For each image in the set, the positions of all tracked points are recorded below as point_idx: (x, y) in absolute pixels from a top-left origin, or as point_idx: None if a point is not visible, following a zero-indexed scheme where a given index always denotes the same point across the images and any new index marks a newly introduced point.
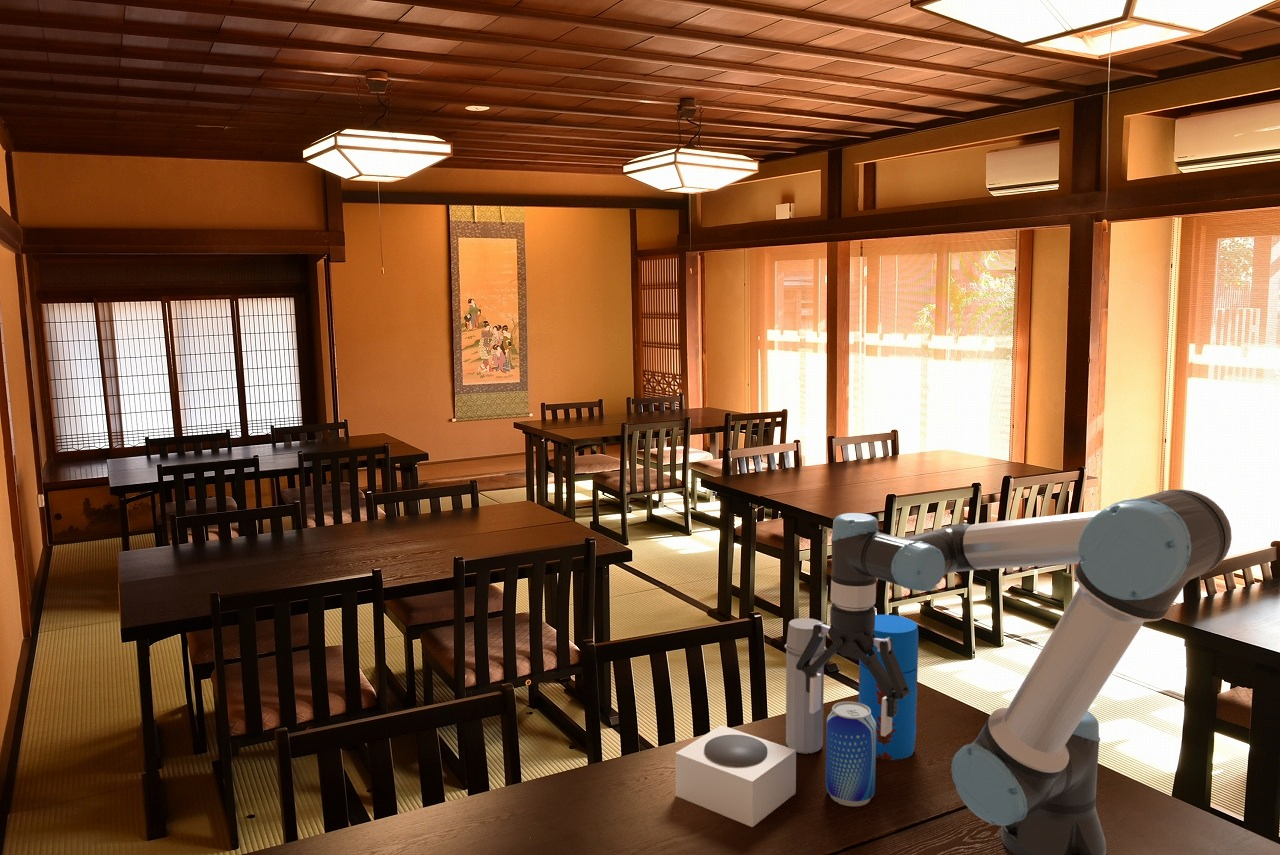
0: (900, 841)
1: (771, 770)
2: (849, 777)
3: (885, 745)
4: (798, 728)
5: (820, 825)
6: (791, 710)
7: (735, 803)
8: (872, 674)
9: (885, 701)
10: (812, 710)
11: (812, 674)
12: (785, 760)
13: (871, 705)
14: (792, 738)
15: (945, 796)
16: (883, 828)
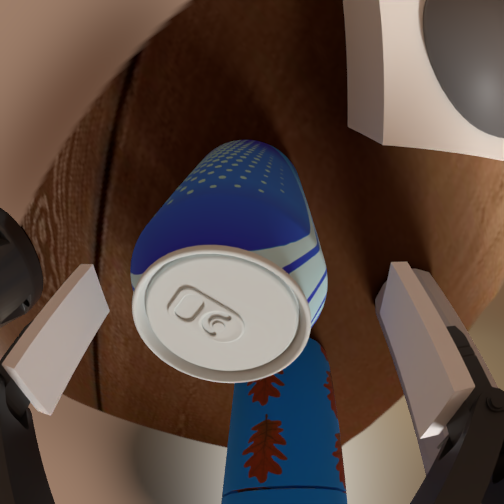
0: (92, 116)
1: (376, 5)
2: (208, 158)
3: None
4: None
5: (232, 47)
6: (455, 322)
7: None
8: (6, 483)
9: (6, 358)
10: (398, 270)
11: (467, 412)
12: (381, 81)
13: (295, 413)
14: (428, 282)
15: (129, 290)
16: (133, 128)
